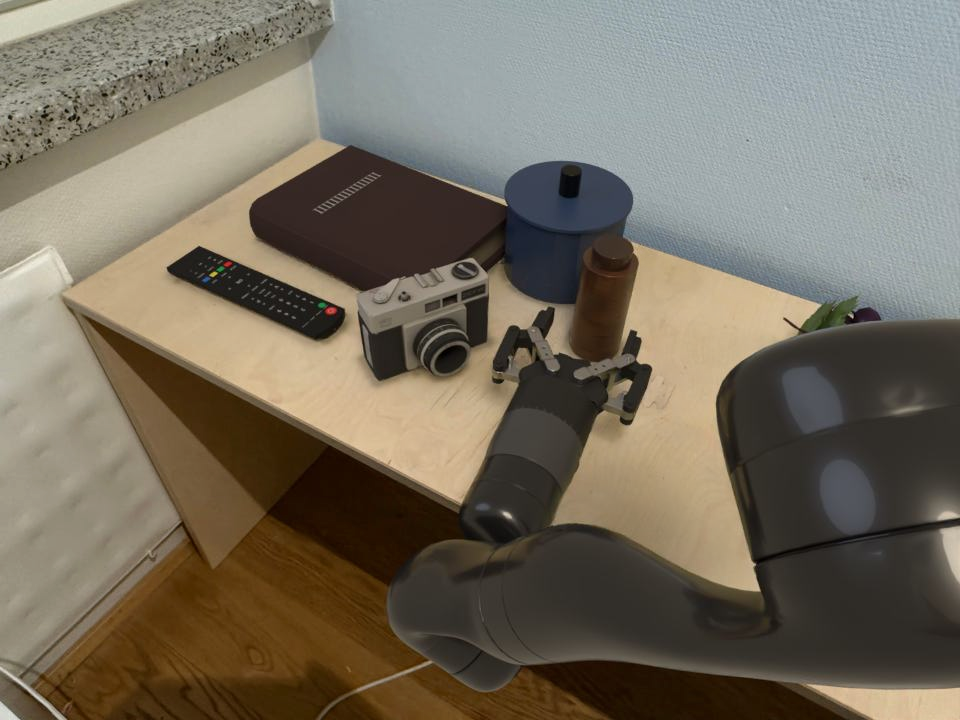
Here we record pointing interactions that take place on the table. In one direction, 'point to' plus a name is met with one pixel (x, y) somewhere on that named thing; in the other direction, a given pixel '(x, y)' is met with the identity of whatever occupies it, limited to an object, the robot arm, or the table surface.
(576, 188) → the pot lid
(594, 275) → the pepper mill
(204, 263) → the remote control
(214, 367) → the table surface
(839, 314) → the fruit
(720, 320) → the table surface
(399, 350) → the camera
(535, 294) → the pot
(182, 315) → the table surface
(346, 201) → the brown slab
